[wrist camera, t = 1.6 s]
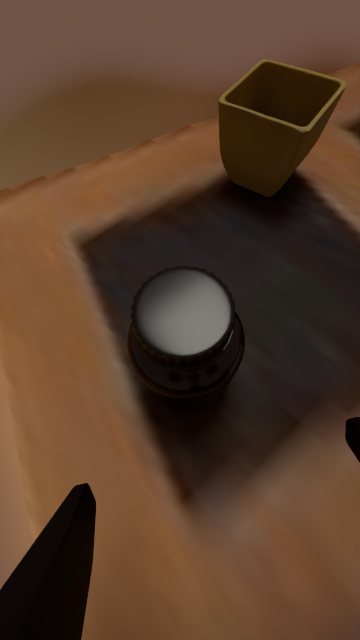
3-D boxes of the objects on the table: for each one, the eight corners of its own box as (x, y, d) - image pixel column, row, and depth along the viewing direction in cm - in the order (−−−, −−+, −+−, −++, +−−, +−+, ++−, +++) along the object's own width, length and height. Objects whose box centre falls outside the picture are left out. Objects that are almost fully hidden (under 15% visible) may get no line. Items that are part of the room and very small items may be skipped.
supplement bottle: (133, 365, 23) (79, 296, 12) (194, 320, 25) (193, 224, 14) (181, 432, 21) (166, 420, 10) (246, 378, 22) (294, 316, 11)
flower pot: (311, 171, 32) (350, 79, 24) (277, 216, 30) (308, 130, 21) (247, 147, 35) (263, 56, 27) (210, 187, 32) (215, 99, 24)
